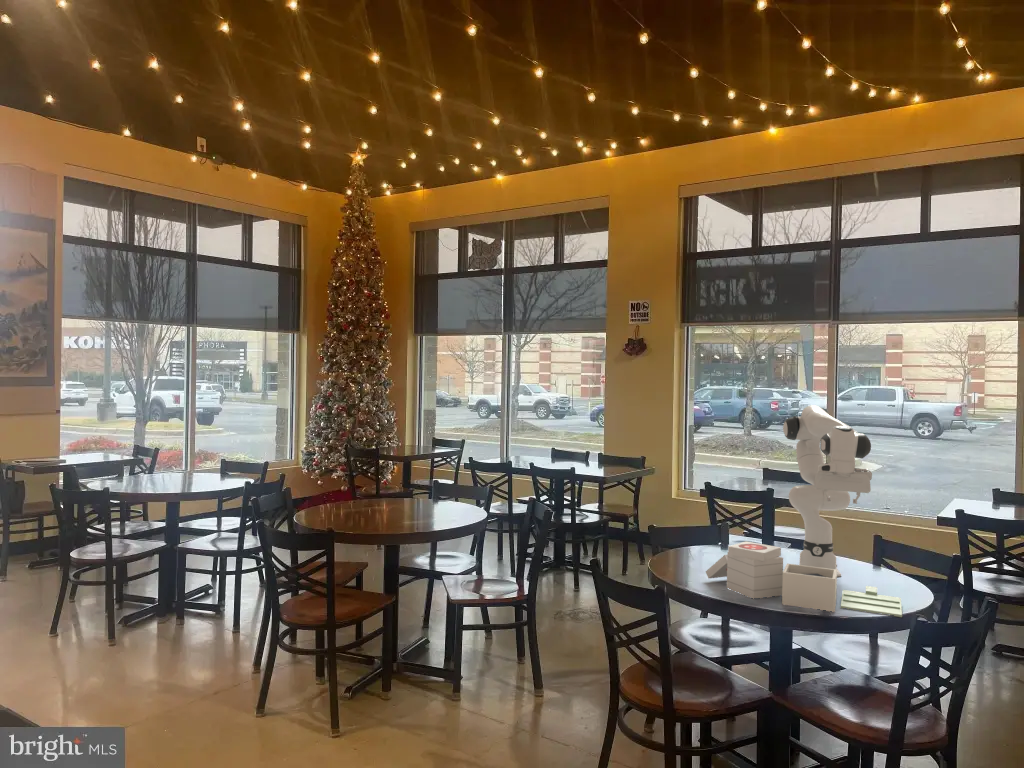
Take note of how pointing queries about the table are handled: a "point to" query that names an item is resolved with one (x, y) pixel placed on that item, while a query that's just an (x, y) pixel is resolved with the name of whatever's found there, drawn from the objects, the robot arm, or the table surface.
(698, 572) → the table surface
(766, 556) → the pizza boxes
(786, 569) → the tub
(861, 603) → the lid
